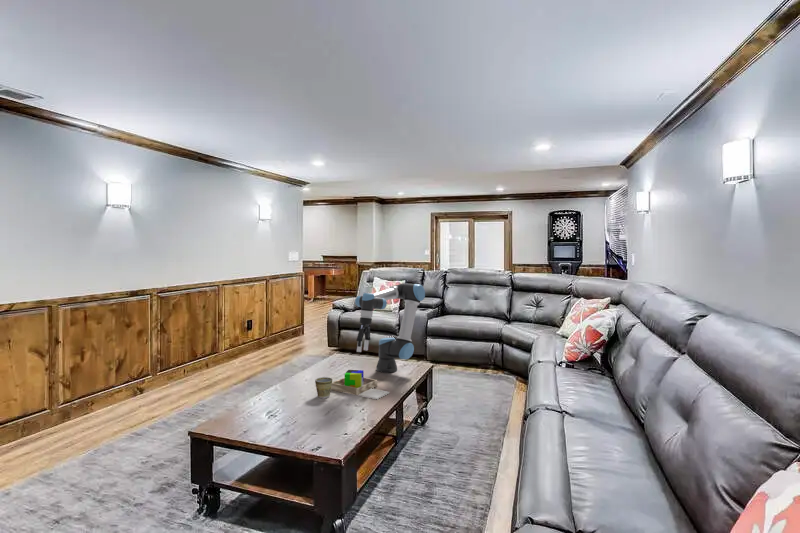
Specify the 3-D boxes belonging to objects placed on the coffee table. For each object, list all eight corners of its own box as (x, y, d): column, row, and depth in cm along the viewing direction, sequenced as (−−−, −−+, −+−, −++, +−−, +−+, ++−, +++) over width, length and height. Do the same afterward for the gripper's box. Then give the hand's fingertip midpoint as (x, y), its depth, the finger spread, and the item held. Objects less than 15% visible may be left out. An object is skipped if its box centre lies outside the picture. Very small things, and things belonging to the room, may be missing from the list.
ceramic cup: (328, 399, 249) (328, 382, 248) (312, 398, 251) (312, 381, 250) (336, 392, 261) (336, 376, 261) (320, 391, 263) (320, 375, 263)
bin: (350, 381, 285) (350, 375, 285) (377, 386, 275) (377, 380, 275) (330, 389, 267) (330, 383, 267) (357, 395, 257) (357, 388, 256)
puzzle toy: (363, 385, 275) (363, 370, 275) (360, 390, 266) (360, 374, 265) (348, 385, 276) (348, 369, 276) (344, 390, 266) (344, 374, 266)
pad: (371, 389, 267) (371, 388, 267) (389, 393, 261) (389, 391, 261) (359, 395, 256) (359, 394, 256) (377, 399, 249) (377, 398, 249)
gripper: (366, 316, 288) (362, 348, 286) (354, 316, 264) (350, 351, 262) (377, 318, 286) (373, 350, 284) (365, 318, 262) (361, 353, 260)
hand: (362, 351), depth 273 cm, fingers open, 13 cm apart
